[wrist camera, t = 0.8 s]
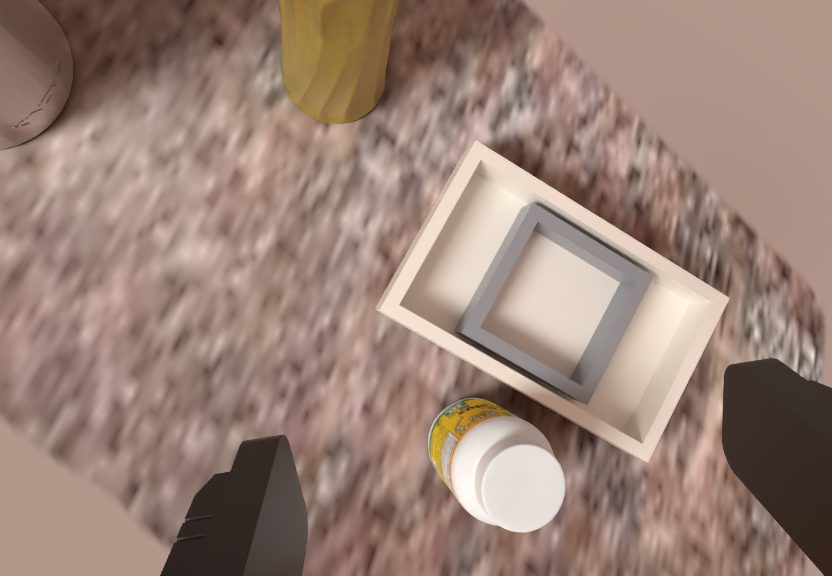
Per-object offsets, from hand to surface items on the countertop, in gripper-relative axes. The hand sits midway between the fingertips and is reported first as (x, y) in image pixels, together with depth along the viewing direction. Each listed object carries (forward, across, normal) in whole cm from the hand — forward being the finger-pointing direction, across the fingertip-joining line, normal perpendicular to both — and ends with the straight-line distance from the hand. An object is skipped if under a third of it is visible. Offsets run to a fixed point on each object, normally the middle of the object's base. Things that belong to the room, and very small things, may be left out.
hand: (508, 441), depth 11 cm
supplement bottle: (+22, -1, +15) cm, 27 cm away
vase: (+29, +4, -7) cm, 30 cm away
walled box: (+25, -6, +8) cm, 27 cm away
